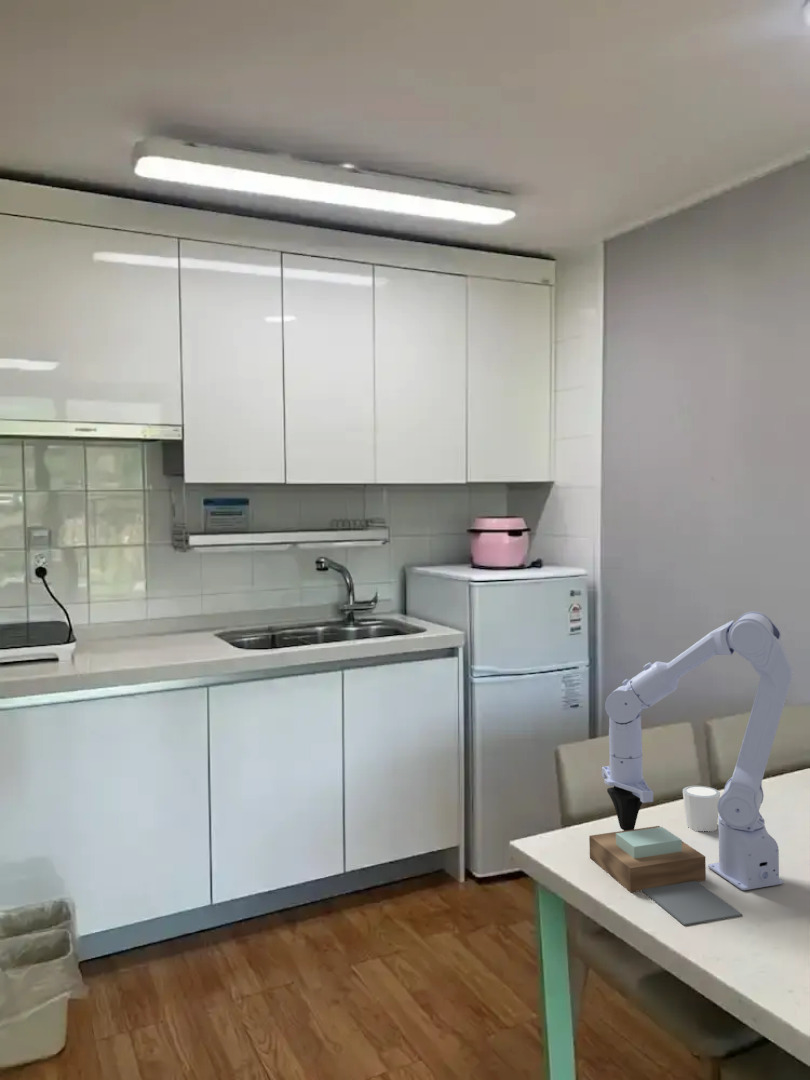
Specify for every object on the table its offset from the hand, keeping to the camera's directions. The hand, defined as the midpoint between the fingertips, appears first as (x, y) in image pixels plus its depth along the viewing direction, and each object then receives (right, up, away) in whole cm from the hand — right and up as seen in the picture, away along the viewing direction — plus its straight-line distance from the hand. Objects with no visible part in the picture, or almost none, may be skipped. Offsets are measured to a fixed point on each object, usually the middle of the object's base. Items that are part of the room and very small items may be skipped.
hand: (627, 828), depth 149 cm
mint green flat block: (+2, -1, -7) cm, 7 cm away
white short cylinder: (+18, -4, +12) cm, 22 cm away
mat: (+5, -5, -18) cm, 20 cm away
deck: (+2, -5, -6) cm, 8 cm away
